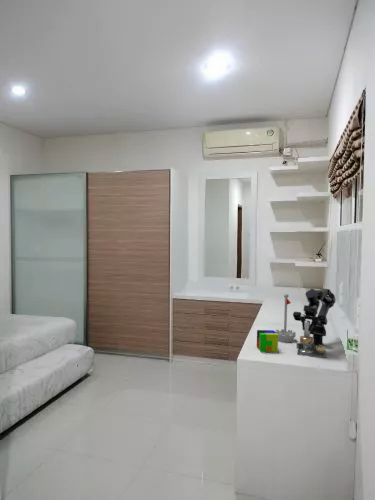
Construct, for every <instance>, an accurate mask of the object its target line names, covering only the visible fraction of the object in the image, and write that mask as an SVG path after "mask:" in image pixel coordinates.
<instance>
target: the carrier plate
mask: <svg viewBox="0 0 375 500" xmlns="http://www.w3.org/2000/svg"><path fill="white" fill-rule="evenodd" d="M296 349H297V352H296V355H299V356H304V357H305V356H307V357H312V358H321V359H326V357H327V350H326V347H325V345H323V346H322V345H314V344H312V343H310V344H306V343H301V342H297V343H296Z"/></svg>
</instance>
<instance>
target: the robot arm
mask: <svg viewBox="0 0 375 500" xmlns="http://www.w3.org/2000/svg"><path fill="white" fill-rule="evenodd" d="M305 298H306V300H307V302H308V305H306V304H304V305H303V313H304V314H303V313H302V312H301V311H294V312H293V313H292V316H293V318H294V321H296V322H297V321H298V322H301V323H302V324H301V325H302V331H304V321H307V320H308V321H310V328H309V331H310V335H312V337H313V339H314V343H313V344H314V345H322V346H324V342H323V338H324V337H326V336H327V331H326V330H327V329H326V327H325V326H327V325H328V318H327V315H328V312H329V310H330V309H331V308H333V307H334V305H335V303H336V297H335V294H334V293H333V292H332V291H331V289H330V288H321V289H319V290H316V289H315V288H310V289H309V290H307V291H306V292H305ZM320 304H321V306H320ZM319 307H320V310H319ZM318 310H319V311H318Z"/></svg>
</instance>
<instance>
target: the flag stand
mask: <svg viewBox="0 0 375 500" xmlns="http://www.w3.org/2000/svg"><path fill="white" fill-rule="evenodd" d="M283 297H284V314H283V315H284V316H283V317H284V318H283V324H284V326H283V328H281V329H275V330H274V331H275V332H276V333H277V334H278V342H281V343H292V342H294V340H295V339H294V338H295V337H296V335H297V334H296V331H294V330H291V329H288V330H287V326H288V323H287V322H288V305H289V304H291V303H292V302H291V301H290V300H289V298H288V297H289V294H288V293H284V294H283Z"/></svg>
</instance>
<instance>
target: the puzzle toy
mask: <svg viewBox="0 0 375 500" xmlns="http://www.w3.org/2000/svg"><path fill="white" fill-rule="evenodd" d="M256 348H257V349H258V351H260V353H261V352H263V353H266V352H270V353H272V352H273V353H275V352H277V353H278V352H279V351H278V348H279V341H278V334H277V333H276V332H275V330H274V329H273V330H272V329H271V330H270V329H267V330H266V329H257V330H256Z"/></svg>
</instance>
